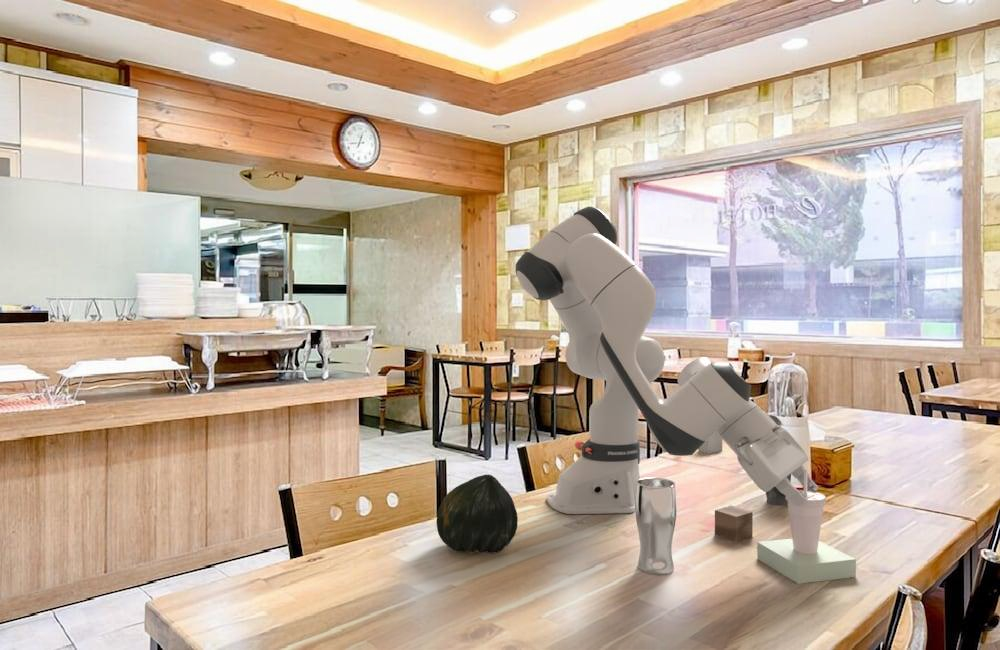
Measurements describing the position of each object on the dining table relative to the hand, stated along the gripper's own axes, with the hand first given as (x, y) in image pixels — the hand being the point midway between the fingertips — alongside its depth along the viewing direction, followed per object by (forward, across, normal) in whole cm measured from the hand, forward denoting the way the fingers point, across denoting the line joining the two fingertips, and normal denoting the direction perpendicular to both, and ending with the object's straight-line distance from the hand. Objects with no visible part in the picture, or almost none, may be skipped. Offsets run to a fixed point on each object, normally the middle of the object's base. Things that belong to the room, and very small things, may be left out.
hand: (808, 497), depth 113 cm
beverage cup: (-2, +36, +20) cm, 41 cm away
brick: (-2, +8, +20) cm, 22 cm away
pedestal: (+8, 0, +9) cm, 12 cm away
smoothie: (+6, 0, +7) cm, 10 cm away
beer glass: (-6, -16, +24) cm, 29 cm away
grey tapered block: (-24, +78, +42) cm, 92 cm away
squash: (-28, -27, +46) cm, 60 cm away
